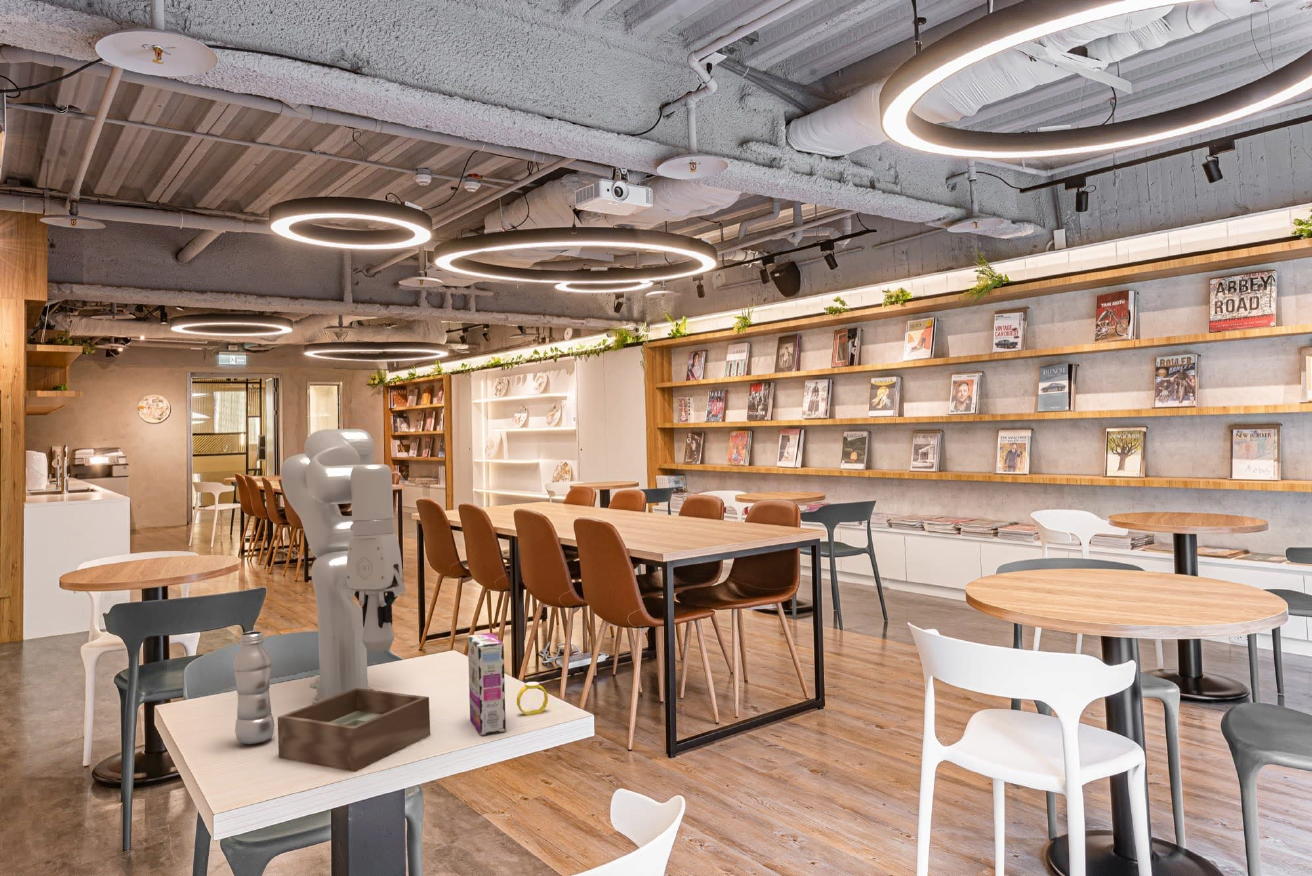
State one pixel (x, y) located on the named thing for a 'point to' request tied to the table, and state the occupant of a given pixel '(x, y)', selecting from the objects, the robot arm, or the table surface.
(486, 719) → the candy bar box
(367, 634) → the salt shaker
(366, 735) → the box
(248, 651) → the plastic bottle
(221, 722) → the table surface
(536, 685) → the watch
